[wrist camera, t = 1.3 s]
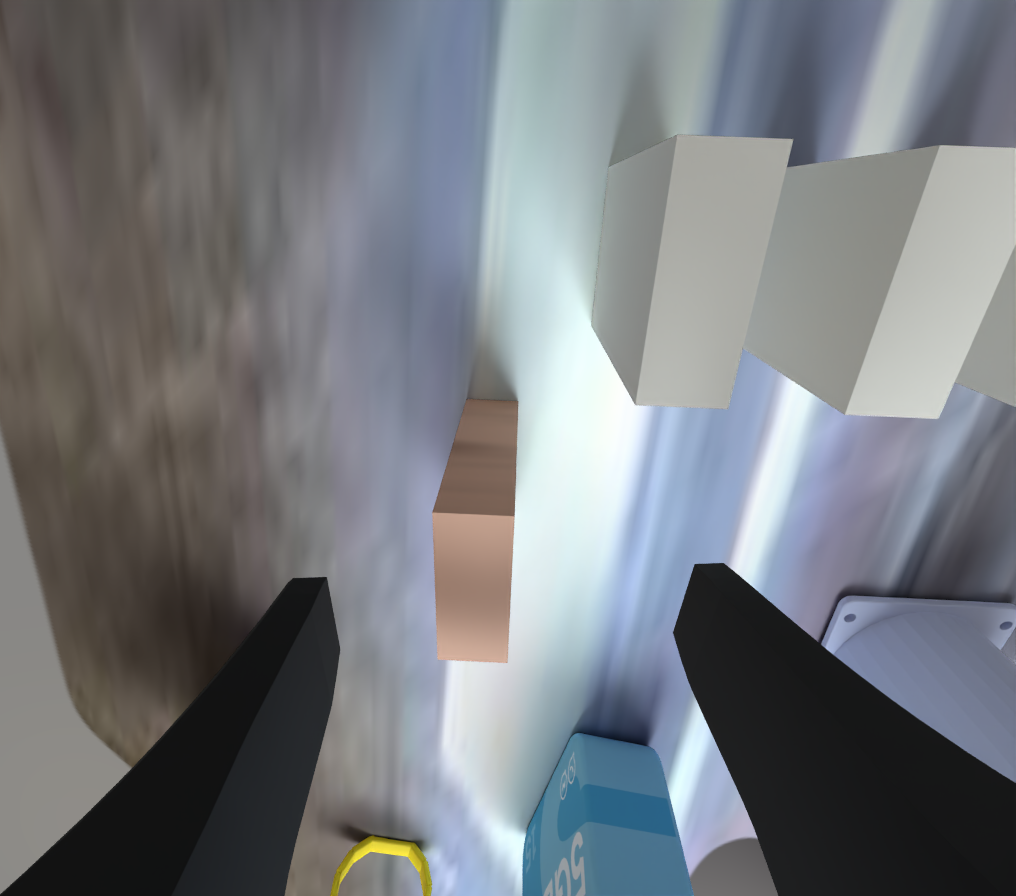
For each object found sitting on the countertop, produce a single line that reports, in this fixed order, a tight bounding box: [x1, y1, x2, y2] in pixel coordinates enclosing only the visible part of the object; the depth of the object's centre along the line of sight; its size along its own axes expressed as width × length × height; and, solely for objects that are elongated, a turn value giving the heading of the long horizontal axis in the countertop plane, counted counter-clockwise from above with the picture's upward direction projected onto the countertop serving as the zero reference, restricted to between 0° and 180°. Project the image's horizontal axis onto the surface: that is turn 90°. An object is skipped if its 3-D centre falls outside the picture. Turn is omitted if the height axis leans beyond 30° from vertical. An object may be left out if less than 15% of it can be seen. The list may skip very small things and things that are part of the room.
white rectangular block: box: [591, 135, 793, 409], centre depth 13 cm, size 5×2×8 cm, turn 178°
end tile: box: [432, 399, 518, 663], centre depth 17 cm, size 5×2×8 cm, turn 178°
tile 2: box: [955, 245, 1016, 407], centre depth 13 cm, size 5×2×8 cm, turn 178°
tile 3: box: [743, 145, 1016, 419], centre depth 13 cm, size 5×2×8 cm, turn 178°
